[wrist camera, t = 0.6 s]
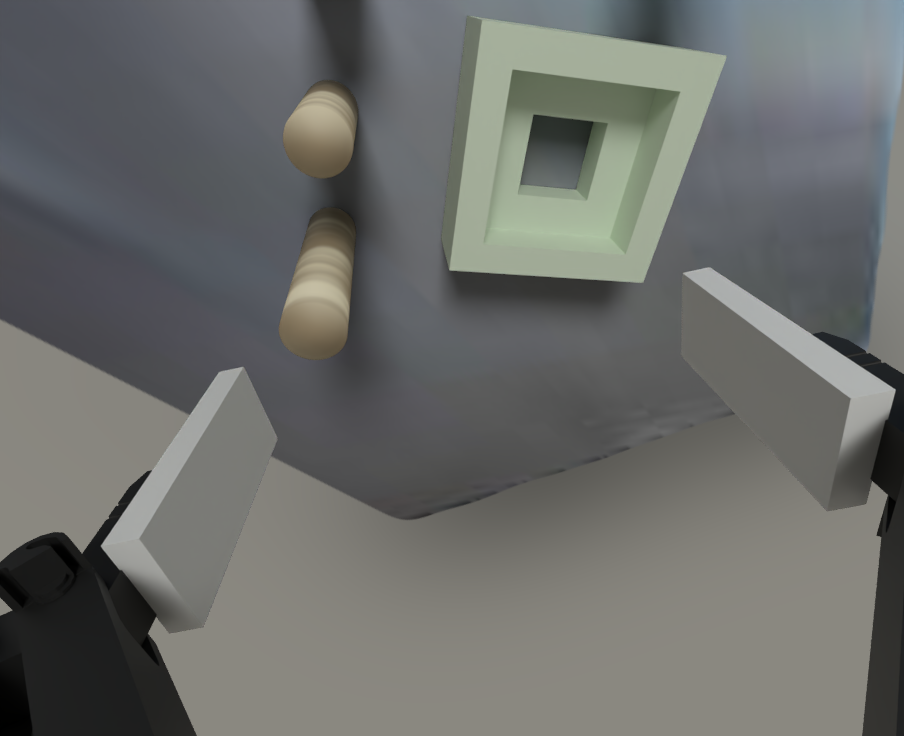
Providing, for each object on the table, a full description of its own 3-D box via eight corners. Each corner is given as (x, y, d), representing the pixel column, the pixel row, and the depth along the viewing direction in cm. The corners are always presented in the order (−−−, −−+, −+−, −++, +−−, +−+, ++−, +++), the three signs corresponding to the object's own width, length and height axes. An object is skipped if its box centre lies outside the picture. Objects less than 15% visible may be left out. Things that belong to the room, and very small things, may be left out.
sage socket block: (467, 15, 31) (482, 19, 27) (680, 47, 33) (726, 56, 29) (441, 238, 39) (449, 270, 35) (614, 251, 41) (642, 282, 37)
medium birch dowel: (302, 76, 32) (281, 101, 25) (358, 83, 32) (353, 110, 25) (304, 135, 34) (285, 175, 27) (357, 141, 34) (352, 181, 27)
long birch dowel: (307, 205, 36) (276, 301, 25) (356, 209, 37) (347, 305, 26) (309, 250, 38) (281, 358, 27) (355, 254, 39) (347, 360, 28)
